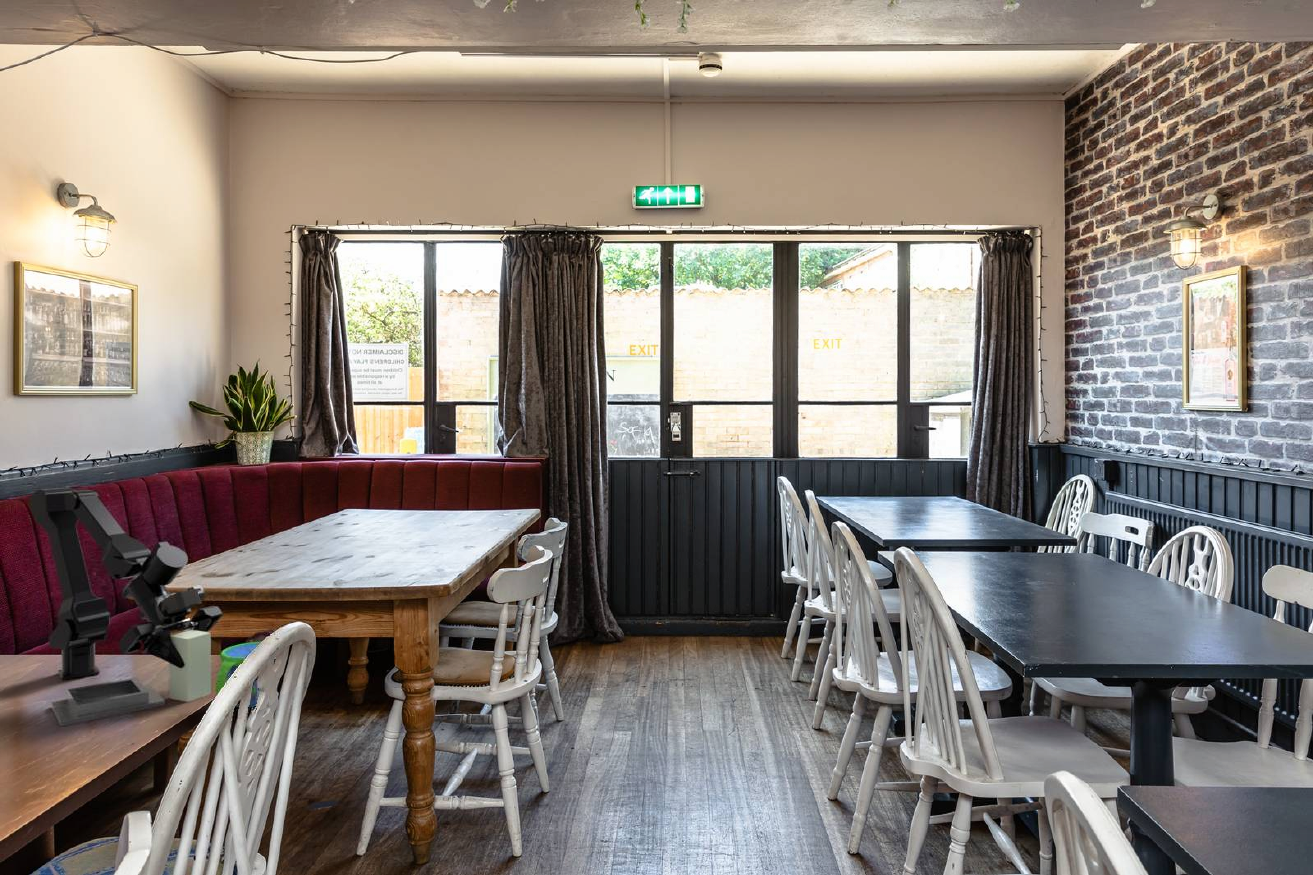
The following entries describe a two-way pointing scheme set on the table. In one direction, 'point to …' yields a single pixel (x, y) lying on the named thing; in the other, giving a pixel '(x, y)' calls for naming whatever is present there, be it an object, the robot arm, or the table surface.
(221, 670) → the snack cup
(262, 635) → the icecream
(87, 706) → the grey rectangular tray
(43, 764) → the table surface
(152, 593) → the robot arm
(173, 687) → the sage block
